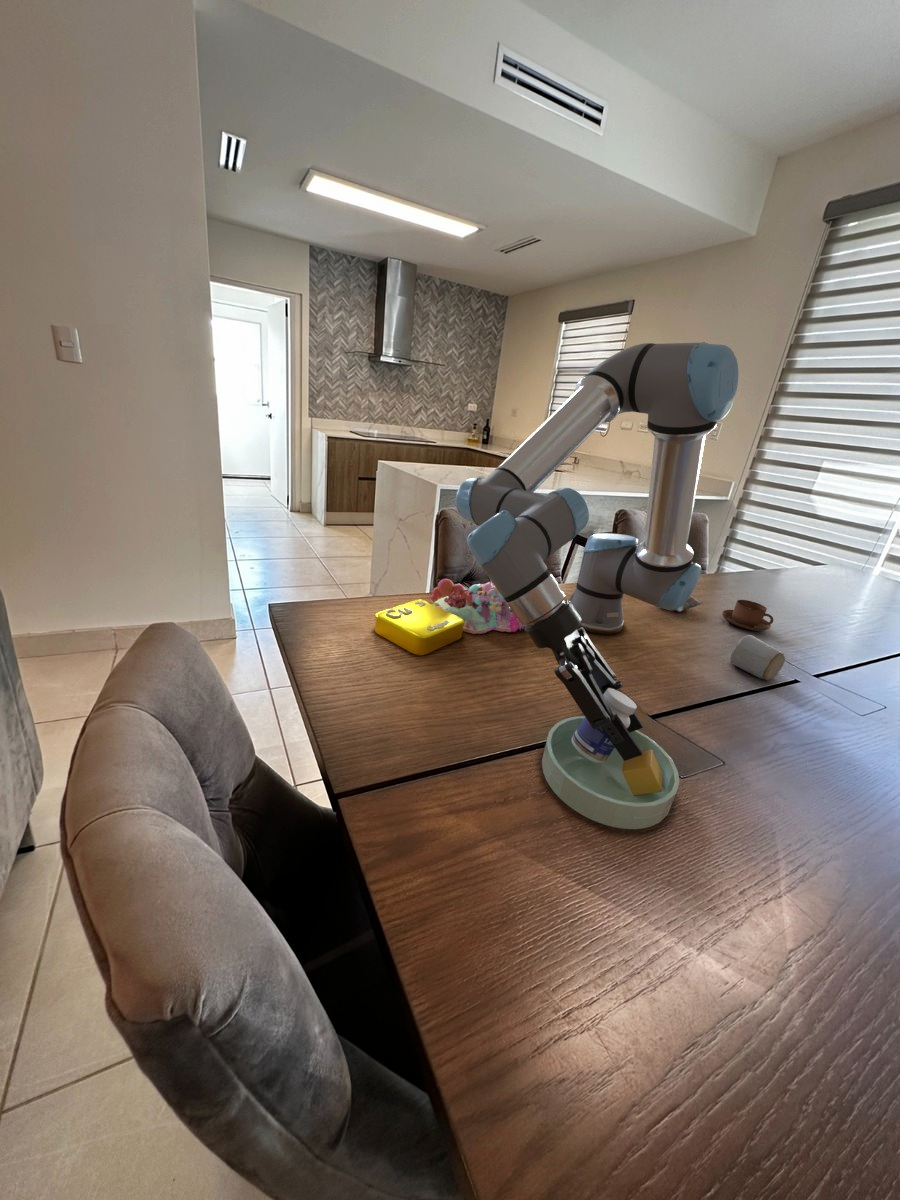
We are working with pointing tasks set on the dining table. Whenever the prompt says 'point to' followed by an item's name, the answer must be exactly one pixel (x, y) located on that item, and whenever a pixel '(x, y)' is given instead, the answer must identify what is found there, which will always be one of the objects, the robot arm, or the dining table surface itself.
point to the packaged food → (689, 604)
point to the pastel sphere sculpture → (476, 607)
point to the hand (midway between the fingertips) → (633, 742)
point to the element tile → (419, 626)
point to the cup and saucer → (748, 616)
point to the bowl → (605, 781)
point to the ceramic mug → (757, 658)
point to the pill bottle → (595, 740)
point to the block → (643, 774)
